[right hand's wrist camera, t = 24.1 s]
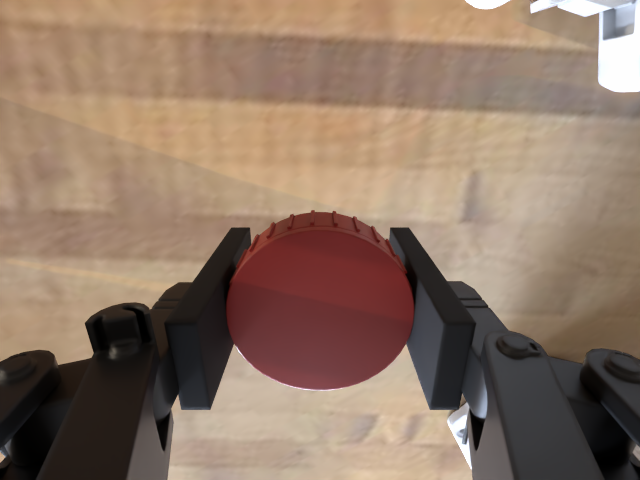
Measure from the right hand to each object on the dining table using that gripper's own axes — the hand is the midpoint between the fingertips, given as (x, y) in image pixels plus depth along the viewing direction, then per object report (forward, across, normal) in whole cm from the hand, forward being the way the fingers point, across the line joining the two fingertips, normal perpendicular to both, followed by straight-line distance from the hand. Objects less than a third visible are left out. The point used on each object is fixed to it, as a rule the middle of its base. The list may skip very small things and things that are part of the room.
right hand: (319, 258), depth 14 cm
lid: (-4, 0, 0) cm, 4 cm away
